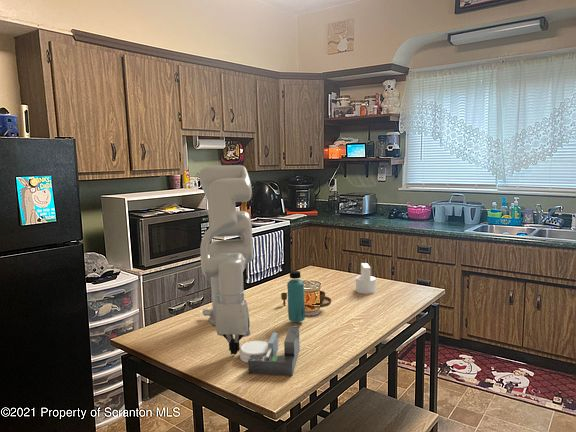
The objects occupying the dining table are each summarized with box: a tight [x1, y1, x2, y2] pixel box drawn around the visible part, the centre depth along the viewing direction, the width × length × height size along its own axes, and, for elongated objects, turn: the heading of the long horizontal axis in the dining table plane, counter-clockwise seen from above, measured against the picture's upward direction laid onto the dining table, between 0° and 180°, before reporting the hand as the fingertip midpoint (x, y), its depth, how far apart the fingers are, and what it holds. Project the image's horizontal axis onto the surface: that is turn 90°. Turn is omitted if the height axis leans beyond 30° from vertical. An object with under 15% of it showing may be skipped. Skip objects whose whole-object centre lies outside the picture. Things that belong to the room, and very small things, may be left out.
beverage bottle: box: [286, 270, 306, 323], centre depth 164 cm, size 6×7×20 cm
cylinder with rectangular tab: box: [355, 262, 377, 295], centre depth 200 cm, size 9×9×12 cm
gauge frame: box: [247, 325, 301, 377], centre depth 134 cm, size 13×17×8 cm
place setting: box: [280, 290, 332, 308], centre depth 188 cm, size 18×20×6 cm
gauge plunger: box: [266, 332, 279, 358], centre depth 134 cm, size 2×14×6 cm, turn 171°
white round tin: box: [239, 340, 268, 364], centre depth 138 cm, size 10×10×4 cm
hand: (234, 352), depth 139 cm, fingers closed
